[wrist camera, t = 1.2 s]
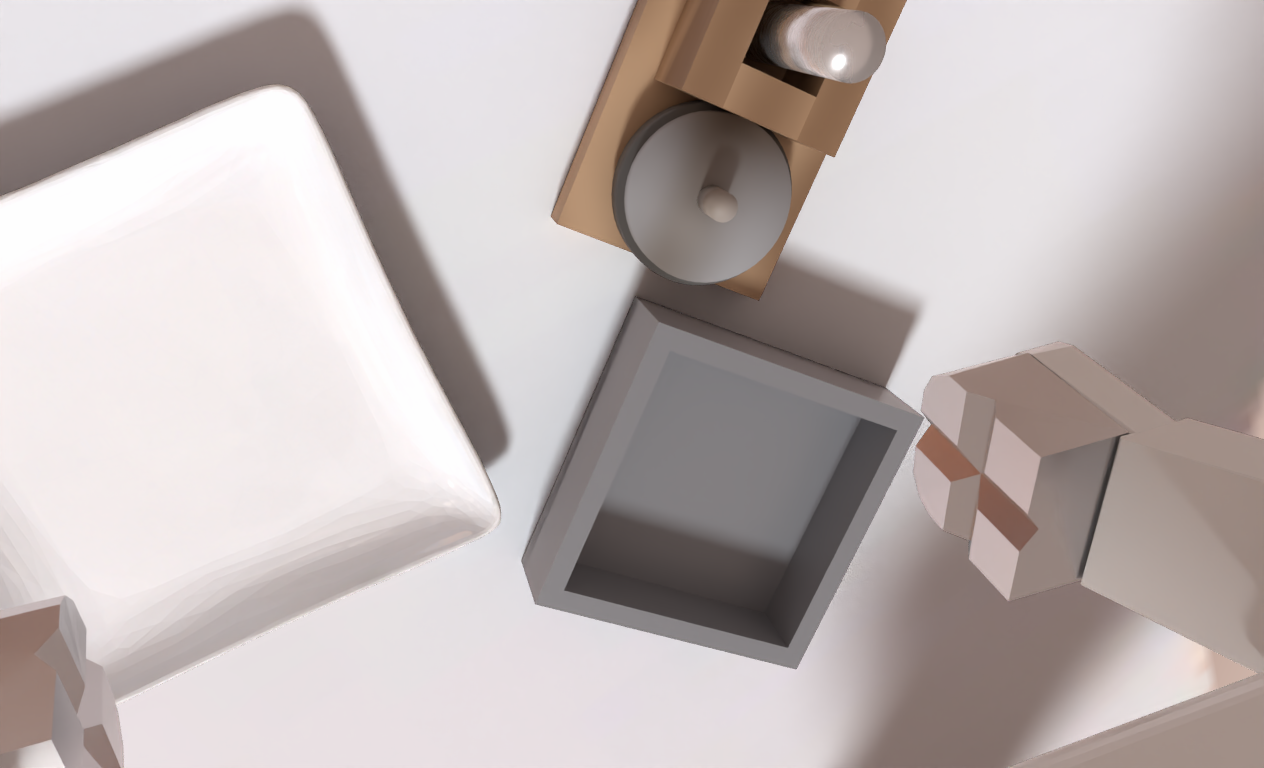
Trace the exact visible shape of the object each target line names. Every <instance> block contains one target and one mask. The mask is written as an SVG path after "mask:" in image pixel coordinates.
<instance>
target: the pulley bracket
mask: <svg viewBox="0 0 1264 768" xmlns="http://www.w3.org/2000/svg"><path fill="white" fill-rule="evenodd" d="M906 1H907V0H638V1H637V4H636V6H635V9H634V11H633V14H632V16H631V19H630V21H629V24H628V26H627V29H626V31H625V34H624V36H623V39H622V41H621V44H620V46H619V49H618V51H617V54H616V56H615V59H614V61H613V63H612V66H611V68H610V71H609V73H608V76H607V78H606V81H605V83H604V86H603V88H602V91H601V93H600V96H599V98H598V101H597V103H596V106H595V108H594V111H593V113H592V116H591V118H590V120H589V123H588V125H587V128H586V130H585V133H584V135H583V138H582V140H581V143H580V145H579V148H578V150H577V153H576V155H575V158H574V160H573V163H572V165H571V168H570V170H569V173H568V175H567V177H566V180H565V182H564V185H563V187H562V190H561V192H560V195H559V197H558V200H557V202H556V205H555V207H554V210H553V212H552V215H551V217H552V219H553V220H554V221H555V222H556V223H557V224H559V225H561V226H564V227H567V228H569V229H572V230H574V231H577V232H580V233H582V234H585V235H588V236H590V237H593V238H595V239H598V240H601V241H603V242H606V243H608V244H611V245H614V246H616V247H619V248H622V249H624V250H627V251H629V252H632V253H633V254H634V255H635V256H636V257H637V258H638V259H639V260H640V261H641V262H642V263H643V264H644V265H646V266H647V267H648V268H649V269H650V270H652V271H653V272H655V273H656V274H658V275H660V276H662V277H664V278H666V279H668V280H671V281H674V282H678V283H682V284H688V285H708V284H716V285H719V286H721V287H724V288H727V289H729V290H732V291H734V292H737V293H740V294H742V295H745V296H748V297H750V298H753V299H755V300H758V301H759V300H760V297H761V295H762V293H763V291H764V289H765V286H766V284H767V282H768V280H769V278H770V276H771V273H772V271H773V269H774V267H775V265H776V262H777V260H778V258H779V256H780V254H781V252H782V249H783V247H784V245H785V243H786V241H787V238H788V236H789V234H790V232H791V230H792V228H793V225H794V223H795V221H796V219H797V217H798V214H799V212H800V210H801V208H802V206H803V203H804V201H805V199H806V197H807V195H808V193H809V190H810V188H811V186H812V184H813V182H814V179H815V177H816V175H817V173H818V171H819V169H820V166H821V164H822V162H823V160H824V158H825V155H826V154H827V155H830V156H832V157H835V155H836V153H837V151H838V149H839V146H840V144H841V142H842V140H843V138H844V136H845V133H846V131H847V129H848V127H849V125H850V123H851V120H852V118H853V116H854V114H855V112H856V109H857V107H858V105H859V103H860V101H861V99H862V96H863V94H864V92H865V90H866V88H867V86H868V83H869V81H870V79H871V77H872V75H873V74H872V75H871V76H870V77H869V78H867V79H865V80H863V81H861V82H857V83H844V82H840V81H835V80H831V79H827V78H823V77H819V76H815V75H810V74H806V73H802V72H798V71H794V70H790V69H786V68H781V67H777V66H773V65H769V64H765V63H761V62H757V61H753V60H750V59H748V58H747V57H745V55H746V53H747V50H748V48H749V46H750V43H751V41H752V39H753V36H754V34H755V32H756V29H757V27H758V25H759V23H760V20H761V18H762V16H763V13H764V11H765V9H766V6H767V4H768V2H777V3H788V4H798V5H808V6H818V7H828V8H838V9H848V10H858V11H864V12H867V13H869V14H871V15H873V16H874V17H875V18H876V19H877V20H878V21H879V22H880V24H881V26H882V28H883V30H884V33H885V37H886V44H887V42H888V40H889V38H890V36H891V33H892V31H893V29H894V27H895V25H896V23H897V20H898V18H899V16H900V14H901V12H902V9H903V7H904V5H905V3H906Z"/></svg>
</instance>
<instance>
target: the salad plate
mask: <svg viewBox="0 0 1264 768" xmlns="http://www.w3.org/2000/svg"><path fill="white" fill-rule="evenodd" d="M500 521H501V508H500V504H499V501H498V498H497V495H496V493H495V490H494V488H493V486H492V483H491V481H490V479H489V477H488V475H487V473H486V470H485V468H484V466H483V464H482V462H481V460H480V458H479V456H478V454H477V452H476V450H475V449H474V447H473V445H472V443H471V441H470V439H469V437H468V435H467V433H466V431H465V430H464V428H463V426H462V424H461V422H460V421H459V419H458V417H457V415H456V413H455V411H454V409H453V408H452V406H451V404H450V402H449V400H448V398H447V396H446V394H445V392H444V390H443V388H442V387H441V385H440V383H439V381H438V379H437V377H436V375H435V373H434V371H433V369H432V367H431V365H430V363H429V361H428V359H427V357H426V355H425V354H424V352H423V350H422V348H421V346H420V344H419V342H418V340H417V338H416V336H415V334H414V332H413V330H412V328H411V326H410V324H409V322H408V320H407V317H406V315H405V313H404V311H403V309H402V307H401V305H400V303H399V300H398V298H397V296H396V294H395V292H394V290H393V288H392V285H391V283H390V281H389V279H388V277H387V275H386V273H385V270H384V268H383V266H382V264H381V261H380V259H379V257H378V255H377V253H376V251H375V249H374V246H373V244H372V242H371V239H370V237H369V235H368V232H367V230H366V228H365V225H364V223H363V221H362V219H361V217H360V214H359V212H358V209H357V207H356V205H355V203H354V200H353V198H352V196H351V193H350V191H349V189H348V186H347V184H346V182H345V179H344V177H343V175H342V172H341V170H340V168H339V165H338V163H337V161H336V159H335V156H334V154H333V152H332V150H331V147H330V145H329V143H328V141H327V139H326V137H325V135H324V133H323V131H322V129H321V127H320V125H319V122H318V121H317V119H316V117H315V115H314V113H313V111H312V110H311V108H310V106H309V105H308V103H307V102H306V100H305V99H304V98H303V97H302V96H301V95H300V94H299V92H298V91H296V90H294V89H293V88H291V87H289V86H285V85H281V84H271V85H267V86H262V87H258V88H255V89H252V90H249V91H245V92H242V93H239V94H237V95H235V96H232V97H230V98H227V99H225V100H222V101H220V102H217V103H215V104H212V105H210V106H208V107H205V108H203V109H201V110H199V111H196V112H194V113H192V114H190V115H188V116H186V117H183V118H181V119H179V120H177V121H174V122H172V123H170V124H168V125H165V126H163V127H161V128H158V129H156V130H154V131H152V132H149V133H147V134H145V135H142V136H140V137H138V138H136V139H133V140H131V141H129V142H127V143H125V144H122V145H120V146H118V147H116V148H113V149H111V150H109V151H106V152H104V153H102V154H99V155H97V156H95V157H92V158H90V159H88V160H85V161H83V162H81V163H78V164H76V165H74V166H71V167H69V168H67V169H64V170H62V171H60V172H57V173H55V174H53V175H50V176H48V177H46V178H44V179H41V180H39V181H37V182H34V183H32V184H30V185H28V186H25V187H22V188H20V189H17V190H15V191H12V192H10V193H7V194H4V195H2V196H0V610H3V609H8V608H12V607H16V606H21V605H25V604H29V603H33V602H38V601H42V600H46V599H51V598H55V597H59V596H64V595H66V596H67V597H69V598H70V599H72V600H73V601H74V603H75V605H76V607H77V610H78V612H79V614H80V616H81V618H82V620H83V622H84V625H85V627H86V659H88V660H90V661H92V662H94V663H96V664H98V665H101V666H102V667H103V669H104V672H105V674H106V676H107V679H108V681H109V684H110V686H111V690H112V693H113V696H114V700H115V703H116V706H117V705H119V704H121V703H123V702H126V701H128V700H130V699H132V698H134V697H136V696H138V695H140V694H142V693H144V692H146V691H148V690H150V689H152V688H154V687H156V686H158V685H161V684H163V683H165V682H167V681H169V680H171V679H173V678H175V677H177V676H179V675H181V674H184V673H186V672H188V671H190V670H192V669H194V668H196V667H198V666H200V665H202V664H204V663H206V662H208V661H210V660H212V659H215V658H217V657H219V656H221V655H223V654H225V653H227V652H229V651H232V650H234V649H236V648H238V647H240V646H242V645H244V644H246V643H248V642H250V641H252V640H254V639H257V638H259V637H261V636H263V635H265V634H267V633H270V632H272V631H274V630H276V629H278V628H280V627H283V626H285V625H287V624H289V623H291V622H293V621H295V620H298V619H300V618H302V617H304V616H306V615H308V614H310V613H313V612H315V611H317V610H319V609H321V608H323V607H325V606H328V605H330V604H333V603H335V602H337V601H339V600H341V599H343V598H346V597H348V596H350V595H352V594H355V593H357V592H360V591H362V590H365V589H367V588H369V587H372V586H374V585H377V584H379V583H381V582H384V581H386V580H388V579H391V578H393V577H395V576H398V575H400V574H403V573H405V572H407V571H409V570H412V569H414V568H416V567H419V566H421V565H423V564H426V563H428V562H430V561H432V560H435V559H437V558H439V557H442V556H444V555H446V554H448V553H450V552H452V551H455V550H457V549H459V548H461V547H463V546H465V545H467V544H469V543H471V542H473V541H475V540H477V539H479V538H481V537H483V536H485V535H487V534H488V533H490V532H491V531H493V530H494V529H495V528H496V527H497V526H498V525H499V524H500Z"/></svg>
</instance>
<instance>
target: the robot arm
mask: <svg viewBox="0 0 1264 768" xmlns="http://www.w3.org/2000/svg"><path fill="white" fill-rule="evenodd" d="M921 411H922V413H923V414H924V415H925V417H926V418H927V419H928V421H929V422H930V423H931V425H930V427H929V428H928V429H927V431H926V432H925V434H924V435H923V436H922V438H921V439H920V440H919V442H918V443H917V445H916V448H915V458H914V468H913V474H914V478H915V482H916V486H917V490H918V494H919V498H920V499H921V501H922V503H923V505H924V507H925V509H926V510H927V512H928V514H929V515H930V517H931V518H932V519H933V520H934V521H935V522H936V523H937V525H938V526H939V527H940V528H941V529H942V530H943V531H945V532H948V533H950V534H953V535H955V536H958V537H960V538H963V539H966V540H968V541H969V560H970V561H971V562H972V563H973V564H974V565H975V566H976V567H977V568H978V569H979V570H980V572H981V573H982V574H983V575H984V576H985V577H986V578H987V579H988V580H989V581H990V582H991V583H992V584H993V586H994V587H995V588H996V589H997V590H998V591H999V592H1000V593H1001V594H1002V595H1003V596H1004V597H1005V598H1006V600H1007V601H1008V602H1009V601H1013V600H1016V599H1020V598H1023V597H1026V596H1030V595H1033V594H1037V593H1040V592H1044V591H1047V590H1050V589H1054V588H1057V587H1061V586H1064V585H1068V584H1071V583H1074V582H1078V581H1081V580H1082V581H1081V585H1082V586H1084V587H1086V588H1088V589H1090V590H1092V591H1094V592H1096V593H1098V594H1100V595H1102V596H1104V597H1106V598H1108V599H1110V600H1112V601H1114V602H1116V603H1118V604H1120V605H1122V606H1124V607H1126V608H1128V609H1130V610H1132V611H1134V612H1136V613H1138V614H1140V615H1142V616H1144V617H1146V618H1148V619H1150V620H1152V621H1154V622H1156V623H1158V624H1160V625H1162V626H1164V627H1166V628H1168V629H1170V630H1172V631H1174V632H1176V633H1178V634H1180V635H1182V636H1184V637H1186V638H1188V639H1190V640H1192V641H1194V642H1196V643H1198V644H1200V645H1202V646H1204V647H1206V648H1208V649H1210V650H1212V651H1214V652H1216V653H1218V654H1220V655H1222V656H1224V657H1226V658H1228V659H1230V660H1232V661H1234V662H1236V663H1238V664H1240V665H1242V666H1244V667H1246V668H1249V669H1250V670H1252V671H1254V672H1256V673H1258V674H1256V675H1254V676H1251V677H1248V678H1246V679H1243V680H1240V681H1238V682H1235V683H1232V684H1230V685H1227V686H1224V687H1222V688H1219V689H1216V690H1213V691H1211V692H1208V693H1205V694H1203V695H1200V696H1197V697H1195V698H1192V699H1189V700H1187V701H1184V702H1181V703H1179V704H1176V705H1173V706H1171V707H1168V708H1165V709H1162V710H1160V711H1157V712H1154V713H1152V714H1149V715H1146V716H1144V717H1141V718H1138V719H1136V720H1133V721H1130V722H1128V723H1125V724H1122V725H1120V726H1117V727H1114V728H1112V729H1109V730H1106V731H1104V732H1101V733H1098V734H1095V735H1093V736H1090V737H1087V738H1085V739H1082V740H1079V741H1077V742H1074V743H1071V744H1069V745H1066V746H1063V747H1061V748H1058V749H1055V750H1053V751H1050V752H1047V753H1045V754H1042V755H1039V756H1037V757H1034V758H1031V759H1028V760H1026V761H1023V762H1020V763H1018V764H1015V765H1012V766H1010V767H1007V768H1264V439H1261V438H1258V437H1254V436H1250V435H1247V434H1243V433H1240V432H1236V431H1233V430H1229V429H1225V428H1222V427H1218V426H1215V425H1211V424H1208V423H1204V422H1201V421H1197V420H1193V419H1190V418H1186V419H1182V420H1178V421H1175V420H1173V419H1172V418H1171V417H1169V416H1168V415H1167V414H1165V413H1164V412H1163V411H1161V410H1160V409H1158V408H1157V407H1156V406H1154V405H1153V404H1152V403H1150V402H1149V401H1148V400H1146V399H1145V398H1144V397H1142V396H1141V395H1140V394H1138V393H1137V392H1136V391H1134V390H1133V389H1131V388H1130V387H1129V386H1127V385H1126V384H1125V383H1123V382H1122V381H1121V380H1119V379H1118V378H1117V377H1115V376H1114V375H1113V374H1111V373H1110V372H1109V371H1107V370H1106V369H1104V368H1103V367H1102V366H1100V365H1099V364H1098V363H1096V362H1095V361H1094V360H1092V359H1091V358H1090V357H1088V356H1087V355H1086V354H1084V353H1083V352H1082V351H1080V350H1079V349H1077V348H1076V347H1075V346H1073V345H1070V344H1066V343H1062V342H1055V343H1051V344H1048V345H1044V346H1041V347H1037V348H1033V349H1030V350H1026V351H1023V352H1019V353H1017V354H1015V355H1014V356H1009V357H1005V358H1001V359H997V360H993V361H989V362H986V363H982V364H978V365H974V366H970V367H966V368H962V369H959V370H955V371H951V372H947V373H943V374H939V375H935V376H932V377H931V379H930V381H929V383H928V384H927V386H926V388H925V389H924V394H923V400H922V406H921ZM0 768H124V756H123V741H122V735H121V728H120V721H119V715H118V710H117V707H116V703H115V700H114V696H113V693H112V690H111V686H110V684H109V681H108V679H107V676H106V674H105V672H104V669H103V667H102V666H101V665H98V664H96V663H94V662H92V661H90V660H88V659H86V627H85V625H84V622H83V620H82V618H81V616H80V614H79V612H78V610H77V607H76V605H75V603H74V601H73V600H72V599H70V598H69V597H67V596H66V595H64V596H59V597H55V598H51V599H46V600H42V601H38V602H33V603H29V604H25V605H21V606H16V607H12V608H8V609H3V610H0Z"/></svg>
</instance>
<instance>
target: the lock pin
mask: <svg viewBox="0 0 1264 768" xmlns="http://www.w3.org/2000/svg"><path fill="white" fill-rule="evenodd" d="M885 50H886V37H885V33H884V30H883V28H882V26H881V24H880V22H879V21H878V20H877V19H876V18H875V17H874V16H873V15H871V14H869V13H867V12H864V11H858V10H848V9H838V8H828V7H818V6H808V5H798V4H788V3H777V2H768V4H767V6H766V9H765V11H764V13H763V16H762V18H761V20H760V23H759V25H758V27H757V29H756V32H755V34H754V36H753V39H752V41H751V43H750V46H749V48H748V50H747V53H746V55H745V57H747V58H748V59H750V60H753V61H757V62H761V63H765V64H769V65H773V66H777V67H781V68H786V69H790V70H794V71H798V72H802V73H806V74H810V75H815V76H819V77H823V78H827V79H831V80H835V81H840V82H844V83H857V82H861V81H863V80H865V79H867V78H869V77H870V76H871V75H872V74H873V73H874V72H875V71H876V70H877V69H878V67H879V66H880V64H881V62H882V60H883V58H884V55H885Z"/></svg>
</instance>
